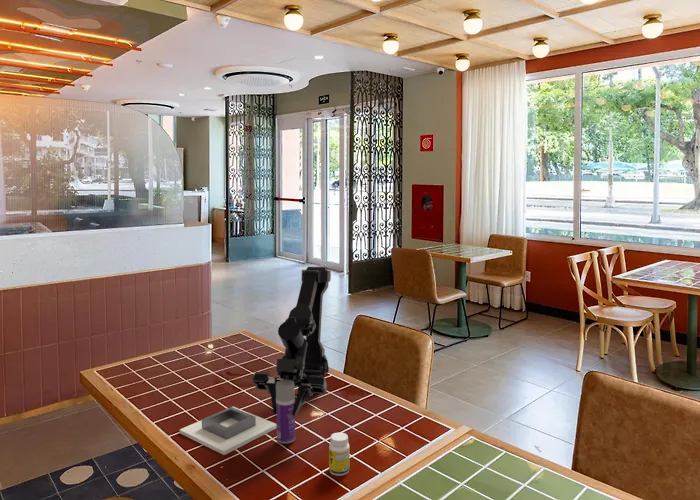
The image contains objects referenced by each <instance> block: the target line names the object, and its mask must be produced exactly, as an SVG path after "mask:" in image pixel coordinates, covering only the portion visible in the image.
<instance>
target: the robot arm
mask: <svg viewBox="0 0 700 500" xmlns="http://www.w3.org/2000/svg"><path fill="white" fill-rule="evenodd" d="M331 278H332V276H331V270H328V267H327V266H307V267H306V269H301V285H300V289H299V294H298V297H297V302H296V306H295V307H292V309H291V310H290V311H289V314H288V317H287V318H286V319H285V321H284V322H282V323H281V324H280V325H279V327H278V329H277V333H278V337H279V339H280V341H281V343H282V345H283V347H285V348H284V353H283V355H282V357H281V358H276V364H275V372H276V373H277V374H276V375H277V376H278V377H276V376H275V377H273V376H272V375H271V373H270V372H265V371H256V372H254V373H253V375H252V379H251V382H252V384H253V386H255V389H256V390H260V391H267V392H268V394H270V398H271V406H272V414H273V415H274V416H276V383H277V382H278V381H280V380H292V381H294V387H297V395H296V397H295V406H294V411H293V416H295V417H296V416H297V414H298V413H299V411H300V410H301V408H302V407H303V404H305V402H306V401H307V399H308V398H309V397H312V396H313V395H317V394H322V395H323V394H324V395H325V394H327V391H328V390H327V389H328V388H327V387H328V384H327V381H326V378H325V375H326V374H328V373H329V372H330V371H329V369H330V367H329V362H328V359H327V356H326V355H325V353H326V352H325V348H324V346H323V343H322V342H321V336H322V335H321V333H322V331H321V330H322V318H323V317H322V315H323V297H324V294H325V293H326V291H327V290H328V289H329V282H331Z"/></svg>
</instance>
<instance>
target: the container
mask: <svg viewBox="0 0 700 500" xmlns="http://www.w3.org/2000/svg"><path fill="white" fill-rule="evenodd" d="M295 392H296V391H295V386H294V381H292V380H280V381H278V382H277V383H276V415H275V416H276V417H275V418H276V424H277V428H276V440H277V442H278V443H280V444H285V445H286V444H290V443H293V442H294V441H296V416H293V411H294V406H295V402H296V396H295V395H296V394H295Z"/></svg>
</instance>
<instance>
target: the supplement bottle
mask: <svg viewBox="0 0 700 500" xmlns="http://www.w3.org/2000/svg"><path fill="white" fill-rule="evenodd" d="M350 453H351V451H350V444H349V436H348V434H347V433H345V432H334V433H332V434H331V435H330V443H329V445H328V471H329V473H330V474H331V475H333V476H338V477H340V476H345V475H347V474H349V471H350V469H351V468H350V467H351V466H350V462H351V461H350V455H351V454H350Z"/></svg>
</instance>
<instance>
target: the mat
mask: <svg viewBox="0 0 700 500" xmlns="http://www.w3.org/2000/svg"><path fill="white" fill-rule="evenodd" d="M232 407H233V408H235V409H238V410H240V411H243V412H245V413H248V414H250V415H253V416H255V417H256V426H254V427H252V428H250V429H247V430H245V431H243V432H241V433H239V434H237V435H235V436H233V437H231V438H229V439H227V440H226V439H224V438H221V437H219V436H217V435H215V434H213V433H211V432H209V431H206V430H204V429H202V419H201V420H198V421H196V422H194V423H191V424H189V425H187V426H185V427H182V428H180V429H179V434H181V435H183V436H184V437H186V438H189V439H191V440H192V441H195V442H196V443H199V444H200V445H202V446H205V447H206V448H209V449H210V450H212V451H215V452H217V453H219V454H221V455H223V456H226V455H227V454H229V453H231V452H233V451H235V450H237V449H239V448H241V447H243V446H245V445H247V444H248V443H251V442H252V441H254V440H256V439H258V438H261V437H263V436H264V435H267V434H268V433H271V432H272V431H274V430H277V423H275V422H273V421H270V420H267V419H266V418H263V417H260V416H258V415H255V414H253V413H250V412H247V411H244V409H243V410H242V409H240V408H238V407H236V406H232ZM237 422H239V421H237V420H234V419H232V418H230V419H227V420H225V421H223V422H221V423H219V424H220V425H223V426H225V427H229V426H231V425H233V424H235V423H237Z"/></svg>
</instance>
